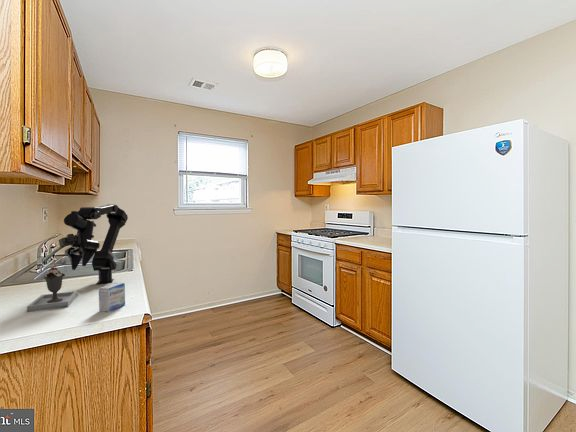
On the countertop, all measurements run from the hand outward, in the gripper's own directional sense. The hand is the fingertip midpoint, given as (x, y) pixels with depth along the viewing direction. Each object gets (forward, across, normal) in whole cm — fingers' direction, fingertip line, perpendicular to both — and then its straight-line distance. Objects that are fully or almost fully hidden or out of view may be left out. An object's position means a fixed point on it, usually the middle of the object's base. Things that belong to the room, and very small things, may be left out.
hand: (78, 267), depth 122 cm
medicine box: (+19, +23, +5) cm, 30 cm away
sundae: (+14, -1, -6) cm, 15 cm away
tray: (+14, -1, -6) cm, 16 cm away
